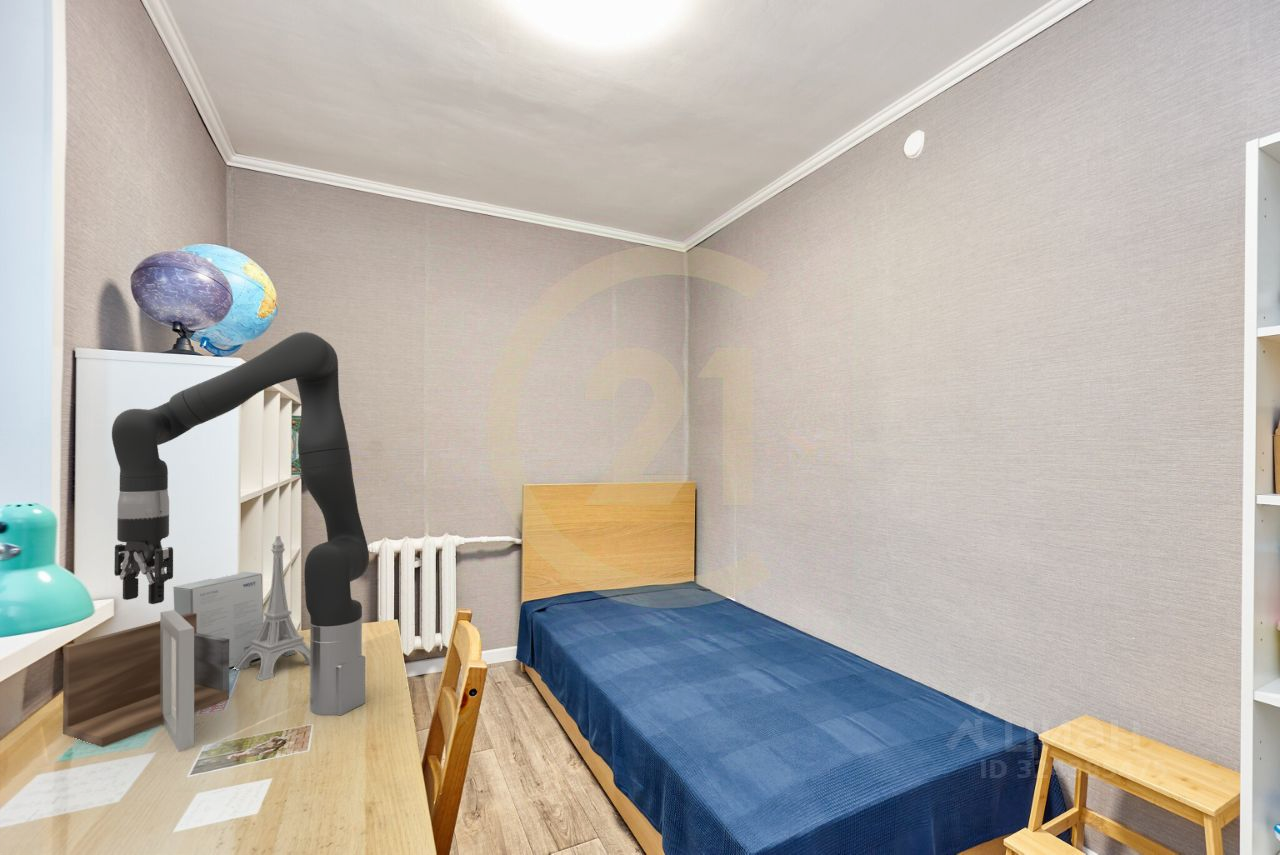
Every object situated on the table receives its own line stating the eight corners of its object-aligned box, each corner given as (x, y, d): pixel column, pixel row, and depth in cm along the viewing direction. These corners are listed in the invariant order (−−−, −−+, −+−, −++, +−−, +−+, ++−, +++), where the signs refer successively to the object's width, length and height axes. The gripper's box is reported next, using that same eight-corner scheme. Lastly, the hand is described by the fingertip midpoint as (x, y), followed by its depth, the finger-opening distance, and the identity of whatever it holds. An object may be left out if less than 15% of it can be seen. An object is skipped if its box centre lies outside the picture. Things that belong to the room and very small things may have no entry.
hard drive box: (247, 652, 145) (246, 571, 145) (265, 656, 141) (264, 573, 142) (173, 675, 131) (172, 585, 132) (192, 680, 127) (190, 587, 128)
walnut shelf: (229, 698, 119) (229, 619, 119) (102, 750, 100) (102, 655, 100) (191, 689, 124) (191, 612, 124) (62, 736, 104) (63, 645, 105)
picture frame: (160, 724, 110) (160, 612, 110) (179, 718, 112) (179, 608, 112) (178, 754, 99) (178, 630, 100) (199, 747, 101) (199, 626, 102)
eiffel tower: (322, 661, 139) (322, 534, 140) (261, 681, 128) (262, 543, 128) (291, 651, 146) (291, 529, 147) (231, 669, 135) (232, 538, 135)
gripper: (189, 513, 113) (188, 599, 112) (143, 510, 118) (143, 592, 118) (143, 518, 106) (143, 610, 105) (97, 514, 111) (96, 602, 111)
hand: (143, 600), depth 112 cm, fingers open, 7 cm apart
